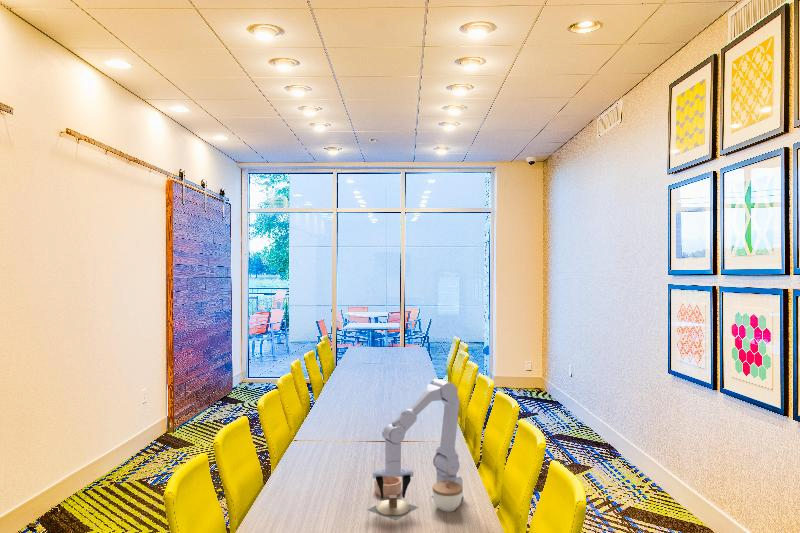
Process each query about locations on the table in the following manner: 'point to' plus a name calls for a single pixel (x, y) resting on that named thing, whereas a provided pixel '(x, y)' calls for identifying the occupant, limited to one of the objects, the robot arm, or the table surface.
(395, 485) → the bowl
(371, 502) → the table surface
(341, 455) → the table surface
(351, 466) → the table surface
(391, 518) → the mat
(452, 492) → the lidded jar
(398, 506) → the lid
